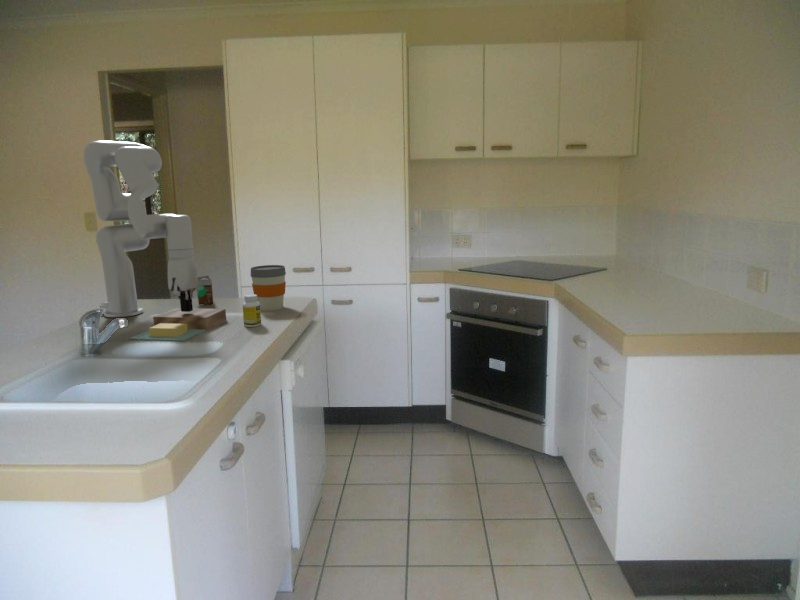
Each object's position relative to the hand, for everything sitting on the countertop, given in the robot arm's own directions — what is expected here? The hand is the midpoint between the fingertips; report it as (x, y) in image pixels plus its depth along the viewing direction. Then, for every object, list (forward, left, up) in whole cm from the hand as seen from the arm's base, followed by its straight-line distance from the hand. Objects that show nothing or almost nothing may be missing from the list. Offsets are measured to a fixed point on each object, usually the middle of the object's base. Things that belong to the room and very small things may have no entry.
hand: (187, 310), depth 182 cm
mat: (0, -12, -5) cm, 13 cm away
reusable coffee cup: (+16, +28, -5) cm, 33 cm away
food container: (-14, +34, -5) cm, 38 cm away
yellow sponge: (0, -12, -2) cm, 12 cm away
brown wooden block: (0, +1, -5) cm, 5 cm away
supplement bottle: (+21, +2, -5) cm, 22 cm away
